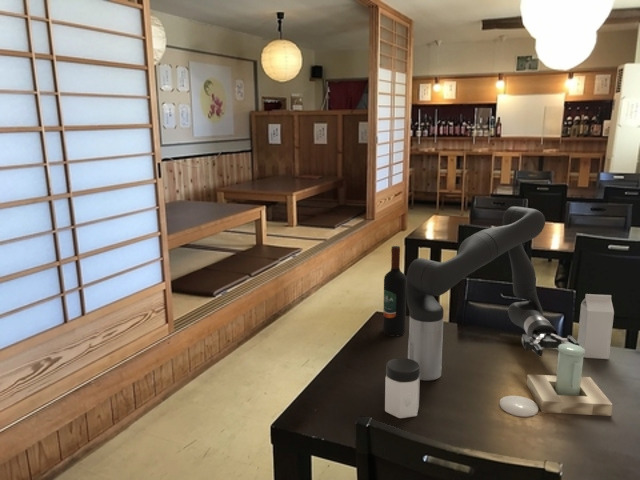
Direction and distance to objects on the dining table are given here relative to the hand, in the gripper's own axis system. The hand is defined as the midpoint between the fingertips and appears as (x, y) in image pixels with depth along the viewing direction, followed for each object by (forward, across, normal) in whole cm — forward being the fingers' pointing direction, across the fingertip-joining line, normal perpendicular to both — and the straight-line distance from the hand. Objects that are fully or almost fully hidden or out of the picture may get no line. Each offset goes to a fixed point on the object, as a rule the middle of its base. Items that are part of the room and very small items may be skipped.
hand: (557, 354), depth 139 cm
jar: (+18, -42, +9) cm, 46 cm away
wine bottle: (-32, -43, +9) cm, 54 cm away
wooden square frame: (+9, 0, +8) cm, 12 cm away
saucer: (+14, -13, +8) cm, 21 cm away
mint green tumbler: (+9, 0, +8) cm, 12 cm away
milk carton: (-20, +17, +9) cm, 28 cm away
